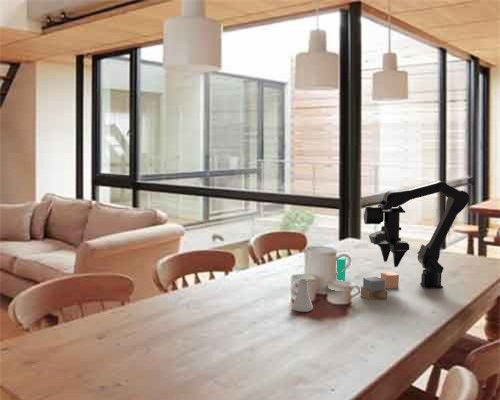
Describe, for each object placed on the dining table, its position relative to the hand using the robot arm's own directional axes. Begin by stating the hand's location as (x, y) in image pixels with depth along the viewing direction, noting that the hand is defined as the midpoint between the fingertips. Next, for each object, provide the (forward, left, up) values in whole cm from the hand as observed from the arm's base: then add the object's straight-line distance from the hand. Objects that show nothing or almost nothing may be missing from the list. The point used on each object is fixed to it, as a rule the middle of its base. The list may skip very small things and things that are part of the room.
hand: (390, 264), depth 209 cm
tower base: (+12, +13, -9) cm, 20 cm away
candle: (+19, -6, -9) cm, 22 cm away
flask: (+41, +22, -9) cm, 47 cm away
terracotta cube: (0, 0, -9) cm, 9 cm away
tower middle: (+12, +13, -6) cm, 19 cm away
